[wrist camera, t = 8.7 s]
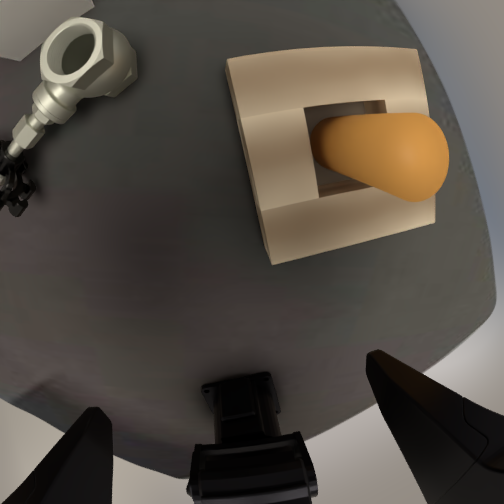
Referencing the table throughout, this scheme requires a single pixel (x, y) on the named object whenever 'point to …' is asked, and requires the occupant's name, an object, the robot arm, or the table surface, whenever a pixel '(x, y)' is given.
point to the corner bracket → (33, 23)
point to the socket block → (299, 150)
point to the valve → (65, 92)
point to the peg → (385, 152)
